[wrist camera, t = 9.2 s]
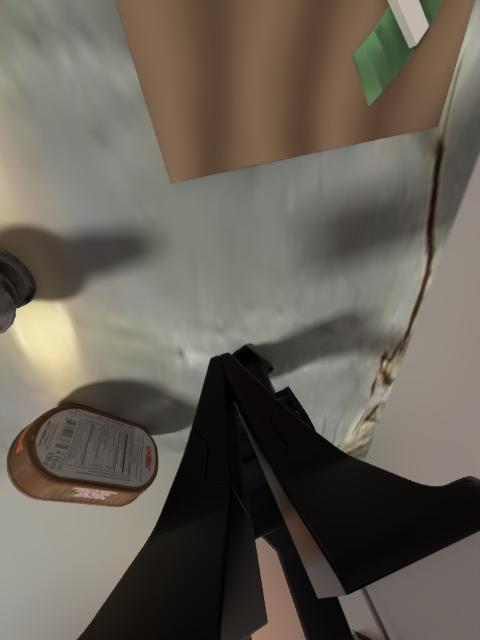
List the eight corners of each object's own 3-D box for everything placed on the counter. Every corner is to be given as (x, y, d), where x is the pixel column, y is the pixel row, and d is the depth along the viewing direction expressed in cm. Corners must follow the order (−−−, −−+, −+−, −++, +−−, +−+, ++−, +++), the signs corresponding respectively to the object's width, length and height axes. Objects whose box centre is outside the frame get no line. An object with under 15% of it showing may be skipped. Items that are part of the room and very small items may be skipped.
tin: (33, 405, 23) (-24, 501, 16) (51, 389, 22) (1, 481, 16) (148, 440, 32) (142, 512, 25) (163, 429, 31) (162, 499, 25)
